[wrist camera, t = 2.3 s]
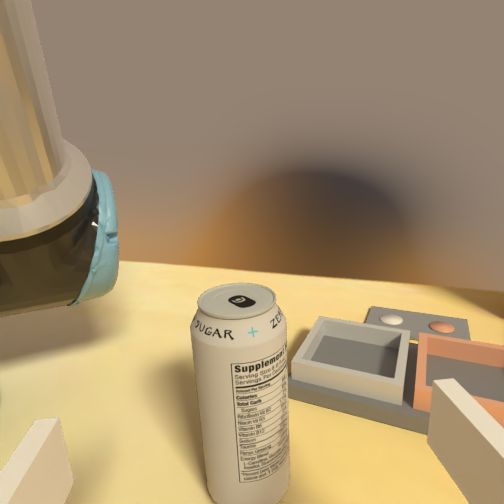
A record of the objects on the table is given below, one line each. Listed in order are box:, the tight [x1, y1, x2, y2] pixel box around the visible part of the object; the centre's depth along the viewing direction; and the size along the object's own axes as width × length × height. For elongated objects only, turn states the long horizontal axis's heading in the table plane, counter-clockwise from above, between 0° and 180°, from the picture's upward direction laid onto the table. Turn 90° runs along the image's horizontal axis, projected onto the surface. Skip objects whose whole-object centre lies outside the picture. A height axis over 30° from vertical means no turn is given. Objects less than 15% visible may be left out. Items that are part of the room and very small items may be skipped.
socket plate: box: [288, 316, 504, 435], centre depth 36 cm, size 22×12×4 cm, turn 65°
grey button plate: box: [365, 306, 470, 341], centre depth 48 cm, size 12×7×1 cm, turn 65°
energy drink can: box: [190, 283, 290, 504], centre depth 25 cm, size 6×6×15 cm
